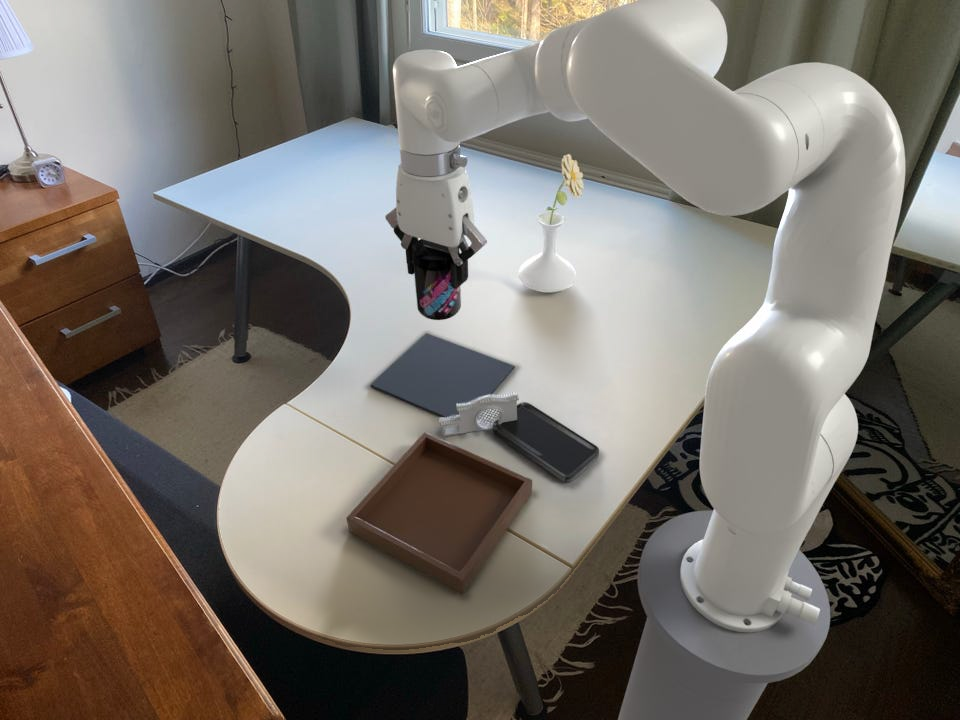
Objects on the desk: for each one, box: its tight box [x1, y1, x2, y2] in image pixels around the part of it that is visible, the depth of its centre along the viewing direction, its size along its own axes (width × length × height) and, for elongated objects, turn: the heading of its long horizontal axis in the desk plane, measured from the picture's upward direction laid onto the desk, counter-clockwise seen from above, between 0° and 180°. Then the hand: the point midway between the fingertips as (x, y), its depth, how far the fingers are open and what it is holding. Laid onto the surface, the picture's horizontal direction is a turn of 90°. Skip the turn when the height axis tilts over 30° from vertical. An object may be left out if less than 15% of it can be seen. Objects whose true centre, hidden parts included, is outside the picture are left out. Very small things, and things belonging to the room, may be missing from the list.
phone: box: [492, 401, 600, 483], centre depth 98 cm, size 8×1×15 cm
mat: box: [370, 332, 516, 419], centre depth 110 cm, size 18×16×1 cm
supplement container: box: [412, 238, 462, 321], centre depth 96 cm, size 7×7×10 cm
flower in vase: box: [517, 153, 585, 293], centre depth 124 cm, size 13×11×25 cm
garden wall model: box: [438, 391, 520, 438], centre depth 99 cm, size 12×2×6 cm, turn 103°
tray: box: [345, 431, 533, 595], centre depth 88 cm, size 18×18×3 cm
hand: (437, 276), depth 96 cm, fingers closed on supplement container, 6 cm apart
